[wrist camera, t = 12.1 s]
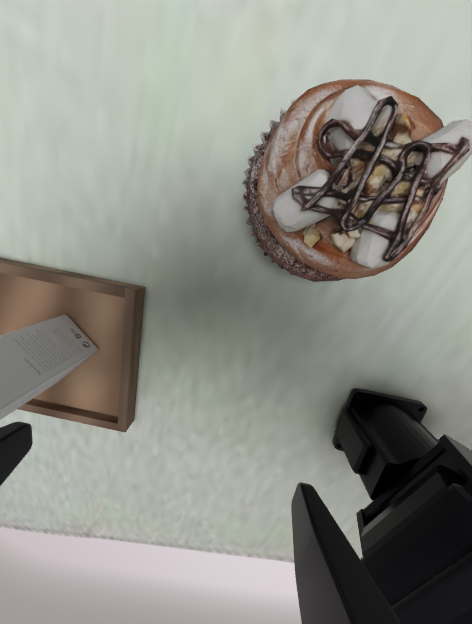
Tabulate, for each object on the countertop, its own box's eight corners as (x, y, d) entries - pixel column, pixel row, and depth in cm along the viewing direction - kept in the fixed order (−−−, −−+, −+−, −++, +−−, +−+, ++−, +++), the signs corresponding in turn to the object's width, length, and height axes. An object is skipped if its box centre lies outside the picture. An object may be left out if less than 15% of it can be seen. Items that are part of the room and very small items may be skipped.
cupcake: (399, 155, 16) (634, 1, 6) (343, 287, 18) (444, 327, 9) (268, 115, 16) (293, -105, 6) (230, 253, 18) (205, 255, 9)
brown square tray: (144, 287, 19) (135, 290, 18) (133, 420, 23) (125, 432, 22) (-12, 255, 20) (-34, 256, 18) (3, 392, 23) (-15, 402, 22)
